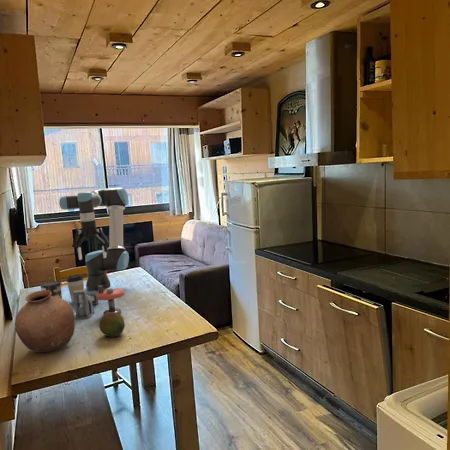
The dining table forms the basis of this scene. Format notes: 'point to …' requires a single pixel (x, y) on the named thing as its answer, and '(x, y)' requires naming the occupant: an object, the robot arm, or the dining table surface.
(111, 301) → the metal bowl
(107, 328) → the fruit
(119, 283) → the dining table surface
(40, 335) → the pottery
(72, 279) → the coffee cup
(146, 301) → the dining table surface
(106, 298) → the pot lid
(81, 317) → the grey block assembly
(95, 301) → the hook rod
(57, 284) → the coffee can
